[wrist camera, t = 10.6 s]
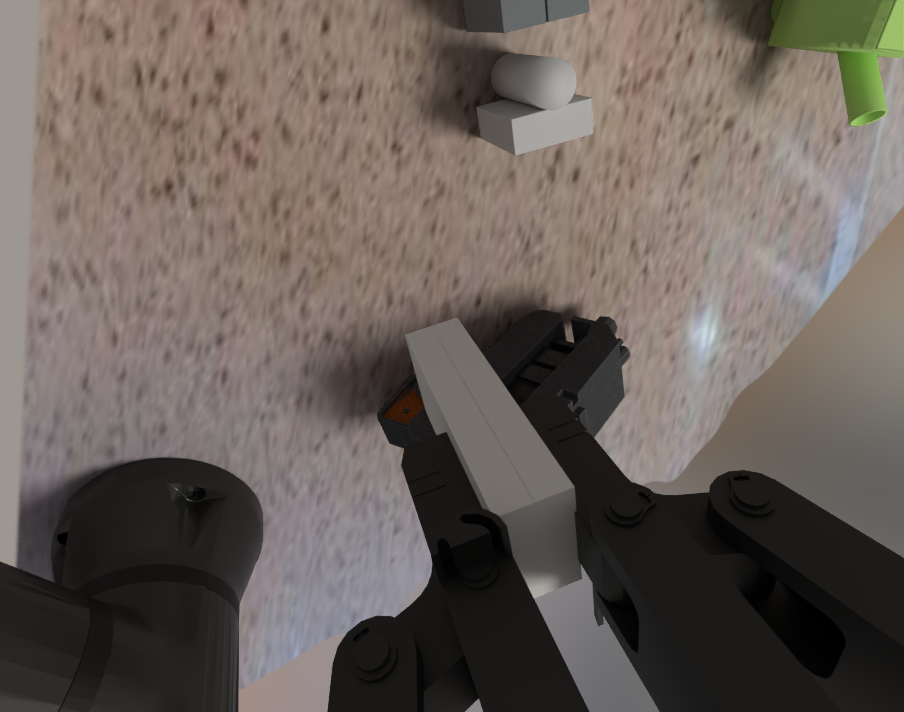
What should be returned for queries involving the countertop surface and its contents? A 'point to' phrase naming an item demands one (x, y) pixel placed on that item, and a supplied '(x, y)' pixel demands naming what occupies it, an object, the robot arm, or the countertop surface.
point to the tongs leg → (503, 14)
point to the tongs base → (536, 97)
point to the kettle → (846, 43)
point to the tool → (534, 374)
